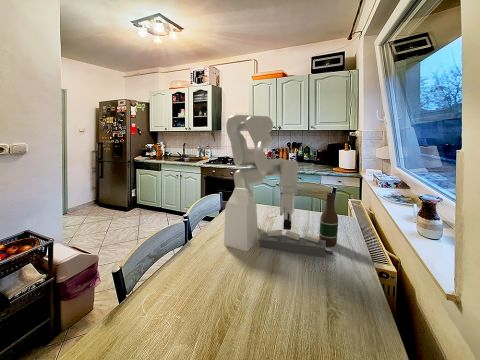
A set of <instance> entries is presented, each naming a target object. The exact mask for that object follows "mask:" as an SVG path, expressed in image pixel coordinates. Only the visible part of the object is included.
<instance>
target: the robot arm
mask: <svg viewBox="0 0 480 360" xmlns="http://www.w3.org/2000/svg"><path fill="white" fill-rule="evenodd" d="M225 127H226V128H225V129H226V133H227V136H228V139H229V142H230V145H231V153H232V159H233V162H234V165H235V166H237V167H247V168H240V169H237V170H236V171H235V172H234V173H233V181H234V189H235V188H244V189H248V191H249V194H250V196H251V197H252V198H253V199H254V193H253V190H252V189H251V187H250V186H256V185H261V184H262V183H264V181H265V177H272V176H274V177H275V176H279V193H281V194H280V195H281V196H280V203H279V215H280V216H283V227H282V228H283V230H285V231H287V230H288V231H291V230H292V215H293V213H294V211H295V209H294V208H295V195H296V194H298V180H299V176H298V175H299V163H298V161H297V160H294V159H293V160H291V159H285V158H267V156H266V155H265V152H264V150H265V149H266V148H267V147H269V146H270V145H271V143H272V142H273V138H272V136H271V134H270V132H272V130H273V127H274V122H273V120H272V118H271V117H269V116H267V115H253V114H252V115H251V114H250V115H249V114H233V115H230V116H229V117H228V118H227V120H226V125H225ZM241 132H248V135H249V136H250V138H251V140H252V142H253V144H254V145H255V146H254V148H248V145H247V140H246V137H245V136H244V135H243V134H242V133H241Z"/></svg>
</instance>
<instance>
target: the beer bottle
mask: <svg viewBox="0 0 480 360" xmlns="http://www.w3.org/2000/svg"><path fill="white" fill-rule="evenodd" d="M335 196H336V194H335V193H334V192H327V193H326V201H325V207H324V211H323V212H322V213H321V215H320V219H319V220H320V221H319V235H318V237H319V240H325V241H326V248H335V247H336V245H337V243H338V232H339V230H338V228H339V216H338V213H337V212H336V209H335Z"/></svg>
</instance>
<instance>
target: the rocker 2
mask: <svg viewBox="0 0 480 360" xmlns="http://www.w3.org/2000/svg"><path fill="white" fill-rule="evenodd" d="M303 238H305V239H308V240H311V241H314V242H317V243H318V241H319V235H318V236H317V235H314V234H311V233H308V232H305V234H304V236H303Z"/></svg>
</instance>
